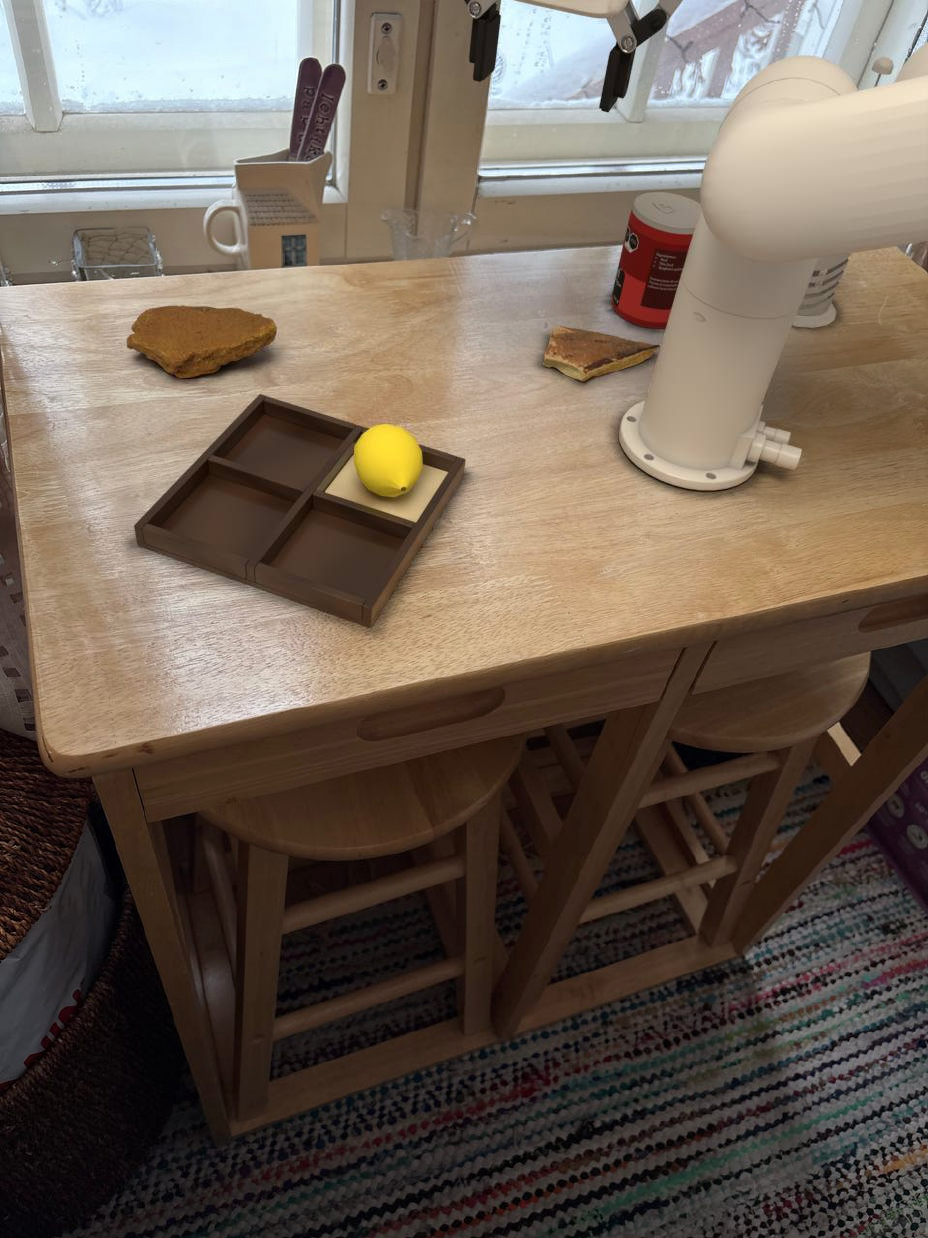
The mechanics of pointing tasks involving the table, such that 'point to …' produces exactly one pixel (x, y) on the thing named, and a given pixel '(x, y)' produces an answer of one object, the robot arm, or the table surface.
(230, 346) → the artifact
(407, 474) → the lemon
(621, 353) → the pie slice
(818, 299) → the french press
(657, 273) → the canned food
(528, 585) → the table surface
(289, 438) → the brown compartment tray
